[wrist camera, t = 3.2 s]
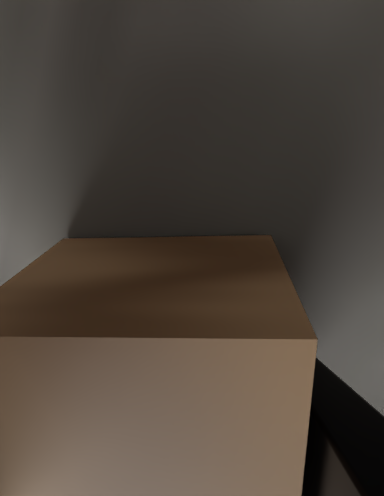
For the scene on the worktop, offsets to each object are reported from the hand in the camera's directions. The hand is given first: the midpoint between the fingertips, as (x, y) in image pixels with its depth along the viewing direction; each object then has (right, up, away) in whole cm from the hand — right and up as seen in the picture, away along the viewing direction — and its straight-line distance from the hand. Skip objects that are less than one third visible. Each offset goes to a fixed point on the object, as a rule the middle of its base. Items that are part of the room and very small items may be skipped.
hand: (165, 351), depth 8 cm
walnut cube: (0, 0, +1) cm, 1 cm away
